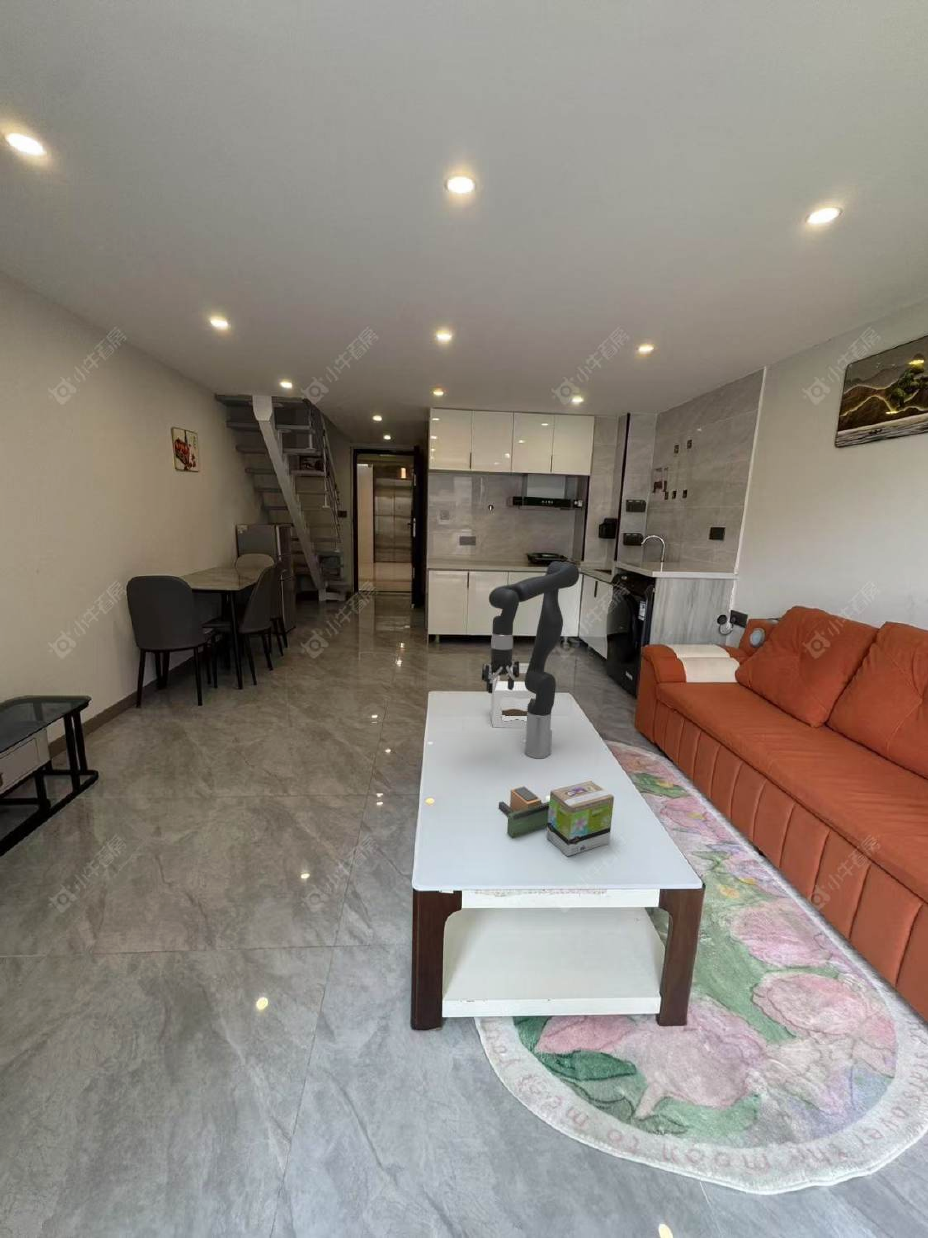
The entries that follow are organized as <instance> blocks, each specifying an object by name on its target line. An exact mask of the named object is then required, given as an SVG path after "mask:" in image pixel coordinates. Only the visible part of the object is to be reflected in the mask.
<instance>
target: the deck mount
mask: <svg viewBox="0 0 928 1238" xmlns="http://www.w3.org/2000/svg"><path fill="white" fill-rule="evenodd" d="M549 802H550V800H549V801H547V802H542V801H541V804H540V805H536V806H533V807H530V808H527V809H523V810H520V811H517V812H515V811H514V810H513V809H511V808H510V805H508V804H507V803H506V802H504V801H500V802H499V801H498V809H499V810H500V811H501V812H502V813H503V814H505V816H506V817H507V830H506V831H507V832H506V834H507V835H508V836H509V837H510V838H511V839H513V838H517V837H520V836H522V835H525V834H529V833H531V832H535V831H538V830H540V829H543V828H547V826H548V813H549Z"/></svg>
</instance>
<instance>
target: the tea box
mask: <svg viewBox="0 0 928 1238" xmlns="http://www.w3.org/2000/svg"><path fill="white" fill-rule="evenodd" d="M549 792H550V794H549V801H550V802H549V801H548V802H549V813H548V826H546V838H547V839H548V840H549V841H550V842H551V843H552V844H553V845H554V846H555V847H556V848H558V850H560V851H561V852H562V853H563V854H564V855H565V856H567V857H571V856H572V855H575V854H576V855H577V854H579V853H581V852H584V851H588V850H591V849H594V847H595V848H597V847H599V846H600V847H601V846H604V845H607V843H608V844H609V843H610V840H611V830H612V829H611V828H612V818H613V812H614V811H613V808H614V802H615V801H614V800H615V796H614V795H612V794H611V793H610V792H608V791H606V790H605V789H604V788H602V787H600V785H598V784H596V783H595V782H593V780H589V781H586V782H581V783H577V784H573V785H569V786H568V785H567V786H565V787H561V788H557V789H552V790H550V791H549Z"/></svg>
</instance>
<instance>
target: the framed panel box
mask: <svg viewBox="0 0 928 1238" xmlns="http://www.w3.org/2000/svg"><path fill="white" fill-rule="evenodd" d="M509 799H510V800H509V807H510V808H511V809H512V810H514V811H515V812H517V811H520V810H523V809H527V808H530V807H533V806H536V805H540V804H541V802H542V799H541V798H540V797H538V796H537V795H536V794H535V793H534V792H532V791H531V790H529V788H527V787H526V786H520V787H515V788H511V789H510V798H509Z"/></svg>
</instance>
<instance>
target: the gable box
mask: <svg viewBox="0 0 928 1238" xmlns="http://www.w3.org/2000/svg"><path fill="white" fill-rule="evenodd" d="M529 663H530V662H519V674H526V672H527V669H528V666H529ZM510 670H511V671H512V673H513V666H511V668H510ZM500 679H501V675H500V676H497V677H496V678H495V679H494V680H493V682H492V683H493V692H492V693H491V694H490V695H491V698H490V699H491V700H490V720H491V719H492V721H491V726H492V725H493V727H505V728H504V729H526V725H527V721H524V720H519V719H515V720H510V721H503V720H502V715H505V716H527V710H526V711H525V710H522V709H518V708H510V709H504V710H503V709H502V707H501V700H502V699H504V698H514V699H519V700H526V699H527V700H528V699H530V700H529V703H530V702H532V701H535V699H536V694H534V693H532V692H530V691H528V690H527V689H526V687H525V680H523V681H522V680H519V681H518V680H517V681H516V680H514V688H513V690H509V689H508V680H500ZM493 727H492V728H493Z"/></svg>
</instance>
